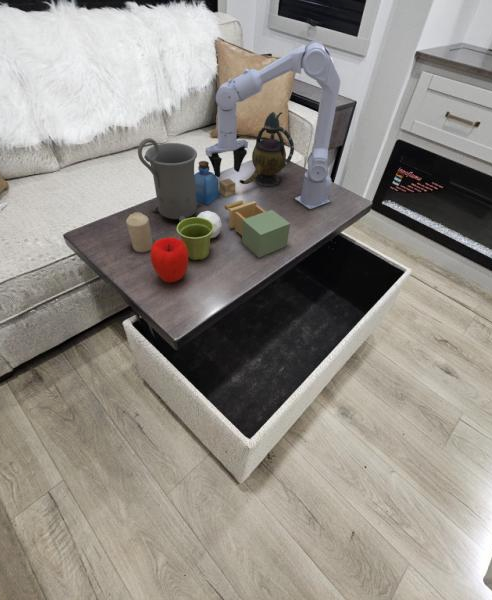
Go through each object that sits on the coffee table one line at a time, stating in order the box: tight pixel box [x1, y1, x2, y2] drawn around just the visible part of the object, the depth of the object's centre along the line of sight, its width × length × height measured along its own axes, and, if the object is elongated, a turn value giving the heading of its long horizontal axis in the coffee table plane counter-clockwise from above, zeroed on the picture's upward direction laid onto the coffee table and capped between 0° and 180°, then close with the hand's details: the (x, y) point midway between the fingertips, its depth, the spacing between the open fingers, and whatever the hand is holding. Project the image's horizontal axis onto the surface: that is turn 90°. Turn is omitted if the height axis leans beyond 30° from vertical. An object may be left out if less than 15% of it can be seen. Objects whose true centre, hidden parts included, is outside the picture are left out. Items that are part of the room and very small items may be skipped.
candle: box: [125, 211, 154, 253], centre depth 89 cm, size 6×6×10 cm
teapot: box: [239, 111, 295, 187], centre depth 114 cm, size 12×25×23 cm, turn 145°
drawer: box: [224, 200, 267, 236], centre depth 100 cm, size 12×9×6 cm
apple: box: [149, 236, 189, 283], centre depth 81 cm, size 9×9×11 cm
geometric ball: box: [196, 210, 223, 239], centre depth 96 cm, size 8×8×8 cm
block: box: [218, 178, 236, 198], centre depth 115 cm, size 4×4×4 cm
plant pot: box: [176, 216, 214, 261], centre depth 89 cm, size 9×9×9 cm
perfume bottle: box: [194, 160, 219, 206], centre depth 109 cm, size 6×6×12 cm
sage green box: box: [241, 209, 291, 259], centre depth 94 cm, size 8×10×8 cm
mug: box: [137, 137, 199, 223], centre depth 95 cm, size 19×15×25 cm
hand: (227, 173), depth 111 cm, fingers open, 7 cm apart
